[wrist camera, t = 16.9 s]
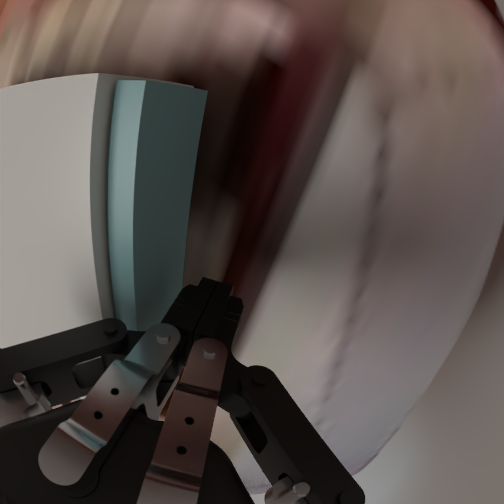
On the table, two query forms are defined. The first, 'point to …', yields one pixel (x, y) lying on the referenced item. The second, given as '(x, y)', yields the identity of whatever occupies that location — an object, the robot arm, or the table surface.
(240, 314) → the robot arm
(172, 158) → the grey drawer
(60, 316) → the housing
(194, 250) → the table surface
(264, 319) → the table surface
